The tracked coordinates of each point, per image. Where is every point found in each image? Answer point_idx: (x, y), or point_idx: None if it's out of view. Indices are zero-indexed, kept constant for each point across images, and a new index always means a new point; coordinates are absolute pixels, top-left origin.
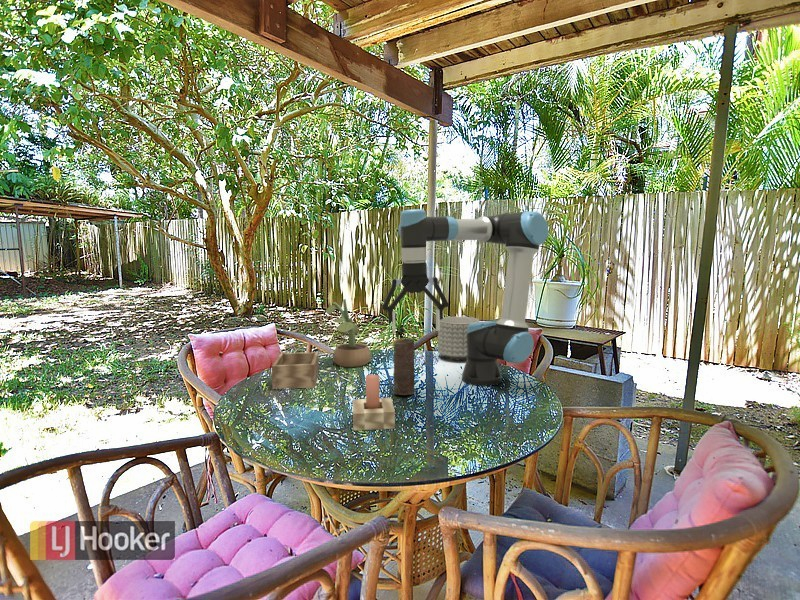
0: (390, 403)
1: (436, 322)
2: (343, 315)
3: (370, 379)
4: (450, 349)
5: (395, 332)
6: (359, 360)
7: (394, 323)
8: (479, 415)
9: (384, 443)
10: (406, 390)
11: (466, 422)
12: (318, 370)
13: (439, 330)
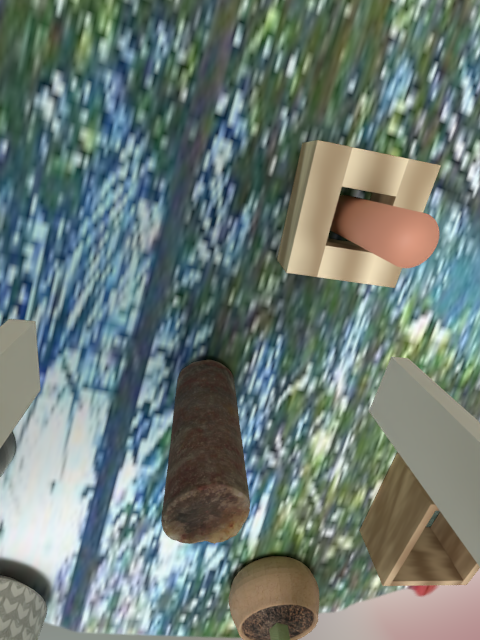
0: (304, 223)
1: (3, 405)
2: None
3: (428, 215)
4: (6, 604)
5: (395, 358)
6: (265, 571)
7: (449, 405)
8: (15, 166)
9: (366, 35)
10: (206, 366)
11: (73, 119)
12: (365, 534)
13: (13, 321)
